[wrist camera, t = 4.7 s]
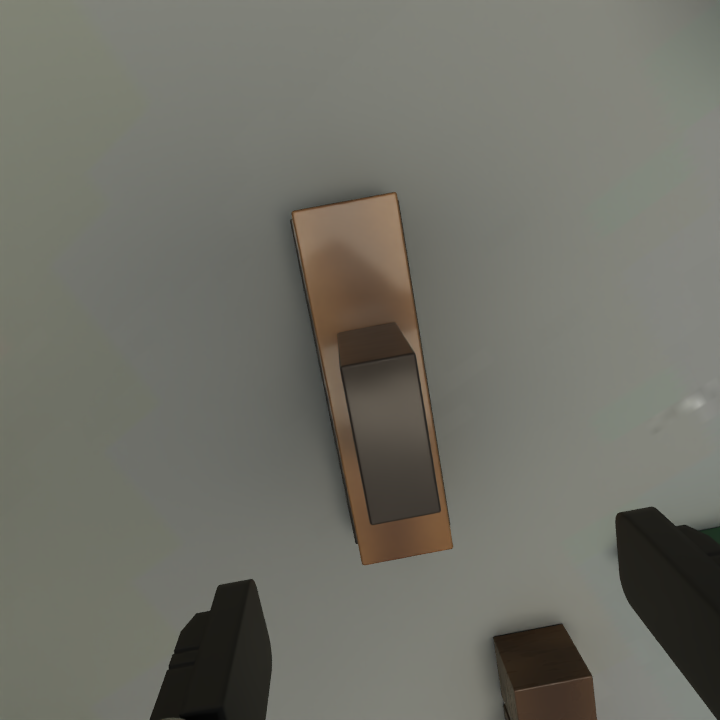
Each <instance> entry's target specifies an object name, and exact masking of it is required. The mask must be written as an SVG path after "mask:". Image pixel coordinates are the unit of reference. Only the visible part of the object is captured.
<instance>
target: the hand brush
mask: <svg viewBox="0 0 720 720" xmlns="http://www.w3.org/2000/svg"><path fill="white" fill-rule="evenodd" d="M291 214H292V219H291V220H290V222H291V227H292V232H293V237H294V242H295V247H296V252H297V257H298V262H299V267H300V272H301V277H302V281H303V286H304V291H305V296H306V301H307V306H308V311H309V316H310V321H311V326H312V331H313V336H314V341H315V346H316V351H317V355H318V360H319V365H320V370H321V375H322V380H323V385H324V390H325V395H326V400H327V405H328V410H329V415H330V420H331V425H332V429H333V434H334V439H335V444H336V449H337V454H338V459H339V464H340V469H341V474H342V479H343V484H344V489H345V494H346V499H347V503H348V508H349V513H350V518H351V523H352V528H353V533H354V538H355V543H356V544H358V546H359V551H360V556H361V561H362V564H363V565H369V564H374V563H379V562H384V561H390V560H395V559H400V558H405V557H411V556H416V555H421V554H426V553H432V552H437V551H442V550H447V549H452V548H453V543H452V537H451V530H450V520H449V514H448V508H447V501H446V495H445V489H444V482H443V476H442V470H441V464H440V457H439V451H438V445H437V438H436V432H435V426H434V420H433V413H432V407H431V401H430V395H429V388H428V382H427V376H426V369H425V363H424V357H423V351H422V344H421V338H420V332H419V325H418V319H417V313H416V307H415V300H414V294H413V288H412V281H411V275H410V269H409V263H408V256H407V250H406V244H405V238H404V231H403V225H402V219H401V212H400V206H399V201H398V198H397V193H396V192H392V193H387V194H381V195H376V196H370V197H365V198H360V199H354V200H349V201H344V202H338V203H333V204H327V205H322V206H317V207H311V208H306V209H300V210H295V211H292V213H291Z"/></svg>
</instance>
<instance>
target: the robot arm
mask: <svg viewBox="0 0 720 720" xmlns="http://www.w3.org/2000/svg"><path fill="white" fill-rule="evenodd" d="M615 523H616V537H617V549H618V562H619V574H620V581H621V585H622V588H623V591H624V594H625V596H626V598H627V600H628V602H629V604H630V605H631V607H632V608H633V609H634V611H635V612H636V613H637V615H638V616H639V617H640V619H641V620H642V621H643V622H644V624H645V625H646V626H647V628H648V629H649V630H650V632H651V633H652V634H653V636H654V637H655V638H656V640H657V641H658V642H659V644H660V645H661V646H662V647H663V649H664V650H665V651H666V653H667V654H668V655H669V657H670V658H671V659H672V661H673V662H674V663H675V665H676V666H677V667H678V669H679V670H680V671H681V672H682V674H683V675H684V676H685V678H686V679H687V680H688V682H689V683H690V684H691V686H692V687H693V688H694V690H695V691H696V692H697V694H698V695H699V696H700V697H701V699H702V700H703V701H704V703H705V704H706V705H707V707H708V708H709V709H710V711H711V712H712V713H713V715H714V716H715V717H716V718H717V720H720V545H719V544H718V543H717V542H716V541H715V540H713V539H712V538H711V537H710V536H709V535H706V534H704V533H702V532H700V531H697V530H695V529H693V528H691V527H688V526H686V525H681V526H675V525H674V524H673V523H672V522H671V521H669V520H668V519H667V518H666V517H665V516H664V515H663V514H662V513H661V512H660V511H658V510H657V509H656V508H654V507H647V508H642V509H636V510H631V511H625V512H620V513H618V514H617V515H616V521H615ZM271 672H272V654H271V645H270V639H269V635H268V631H267V627H266V623H265V619H264V615H263V611H262V607H261V603H260V599H259V595H258V591H257V587H256V584H255V582H254V580H253V579H249V580H244V581H238V582H233V583H227V584H222V585H219V586H218V587H217V590H216V593H215V596H214V600H213V603H212V607H211V610H210V611H207V612H202V613H196V614H195V616H194V617H193V618H192V619H191V620H190V621H189V623H188V624H187V625H186V626H185V627H184V629H183V630H182V631H181V633H180V636H179V638H178V641H177V644H176V647H175V650H174V654H173V655H172V658H171V661H170V664H169V670H167V672H166V675H165V678H164V681H163V683H162V686H161V689H160V692H159V695H158V698H157V700H156V703H155V706H154V709H153V712H152V714H151V717H150V720H265V719H266V711H267V703H268V696H269V688H270V680H271Z"/></svg>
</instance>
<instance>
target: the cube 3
mask: <svg viewBox="0 0 720 720" xmlns="http://www.w3.org/2000/svg"><path fill="white" fill-rule="evenodd" d="M493 639H494V646H495V653H496V660H497V667H498V673H499V680H500V687H501V694H502V697H503V700H504V703H505V706H506V708H507V711H508V714H509V717H510V720H597V717H596V707H595V697H594V688H593V678H592V675H591V673H590V671H589V669H588V668H587V666H586V664H585V662H584V661H583V659H582V657H581V655H580V654H579V652H578V650H577V648H576V647H575V645H574V643H573V641H572V640H571V638H570V636H569V634H568V633H567V631H566V629H565V627H564V626H563V624H560V625H555V626H549V627H544V628H539V629H534V630H528V631H523V632H518V633H513V634H508V635H502V636H497V637H494V638H493Z"/></svg>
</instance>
